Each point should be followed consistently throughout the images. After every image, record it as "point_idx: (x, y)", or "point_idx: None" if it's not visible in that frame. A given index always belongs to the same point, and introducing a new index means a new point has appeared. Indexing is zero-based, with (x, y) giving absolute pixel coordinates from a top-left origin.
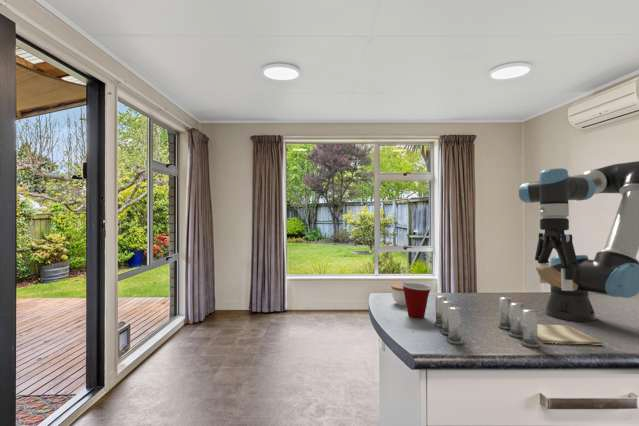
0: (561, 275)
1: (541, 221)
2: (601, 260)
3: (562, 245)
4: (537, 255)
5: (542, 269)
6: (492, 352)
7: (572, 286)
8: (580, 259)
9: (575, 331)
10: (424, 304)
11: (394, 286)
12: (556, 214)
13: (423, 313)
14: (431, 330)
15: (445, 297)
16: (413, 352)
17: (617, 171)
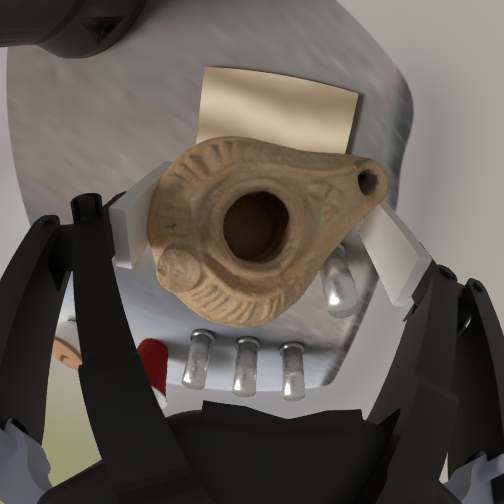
0: (380, 276)
1: None
2: None
3: (452, 441)
4: (63, 297)
5: (270, 317)
6: (342, 323)
7: (389, 207)
8: None
9: (267, 86)
10: (160, 366)
11: (76, 368)
12: None
13: (161, 351)
14: (232, 355)
15: (201, 383)
16: (316, 385)
17: None
